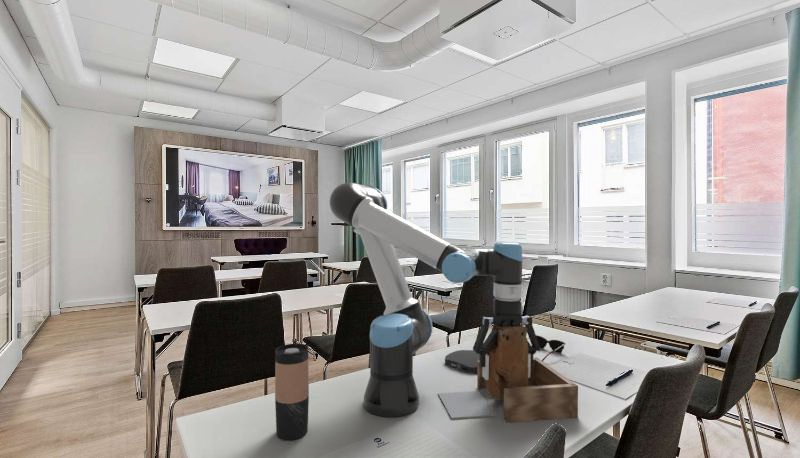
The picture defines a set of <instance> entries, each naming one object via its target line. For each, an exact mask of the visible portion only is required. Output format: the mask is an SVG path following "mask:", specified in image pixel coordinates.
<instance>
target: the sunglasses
mask: <svg viewBox="0 0 800 458" xmlns="http://www.w3.org/2000/svg"><path fill="white" fill-rule="evenodd" d="M536 337H537V340H538V343H539V346H540V349H544V348H545V347H546V346H547V344H548V345H549V347H550V348H551V351H550V352H549V353H547V354H546V355H544V356H545V357H543V358H542V359H541V360H542V361H543V362H544V360H546V358H548V357H549V356H550V355H551V354H553V353H554V352H556V353H559V354H562V353H563V350H564V349H565V345H566V342H564V341H563V340H559V339H550V340H547V339H546V338H545V337H543V336H540V335H536ZM526 338H527V340H530V339H529V337H526Z"/></svg>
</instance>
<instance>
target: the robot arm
mask: <svg viewBox="0 0 800 458" xmlns="http://www.w3.org/2000/svg"><path fill="white" fill-rule="evenodd" d="M329 207H330V210H331V213H332V214H333V215H334V217H336V218H337V219H338V220H339V221H341V222H344V223H346V224H348V225H349V226H350V227H352V231H353V233H356V234H358V235H359V236H360V238H361V241H362V244H363V247H364V249H365V251H366V254H367V258H368V260H369V262H370V266H371V269H372V273H373V274H374V277H375V279H376V282H377V283H376V284H377V285H378V288H379V291H380V293H381V296H382V299H383V302H384V305H385V309H384V312H383V315H379V316H377V317H376V318H375V319H373V320H372V322H371V324H370V330H369V359H370V360H369V369H370V371H369V373H370V374H369V375H370V376H369V379H368V383H367V385H366V388H365V392H364V395H363V407H364V409H365V410H366V411H367V412H369V413H370V414H373V415H375V416H378V417H386V418H392V417H393V418H394V417H396V418H397V417H403V416H406V415H410V414H412V413H413V412H415V411H416V410H417V409H418V408H419V406H420V395H419V392H418V388H417V385H416V381H415V378H414V375H413V373H414V372H413V371H414V369H413V368H414V367H413V366H414V364H413V363H414V362H413V361H414V354H415V353H417V352H418V351H419V350H420V349H421V348H423V347H424V346H425V345H426V344H427V343H428V341H430V340H429V339H430V338H431V336H432V334H433V328H434V327H433V321H432V318H431V316H430V315H429V313H428V312H426V311H425V310H424V309H422V306H421V304H420V301H419V300H418V299H416V298H415V297H413V295H412V294H411V290H410V288H409V285H408V282H407V280H406V276H405V274H404V272H403V270H402V266H401V264H400V261H399V259H398V257H397V256H398V255H397V252H396V250H395V247H396V248H397V249H400V250H402V251H403V252H405V253H407V254H409V255H411V256H412V257H413V258H414V257H415V259H418V260H419V261H421V262H423V263H425V264H427V265H428V266H431V267H432V268H434V269H436V270H438V271H439V272H441V273H442V275H443V276H444V277H445V279H447V280H448V281H449V282H451V283H454V284H461V283H466V282H468V281H470V280H471V279H472V278H474V277H475V276H484V277H485V276H487V277H493V291H492V292H493V293H492V294H493V295H492V296H494V298H493V300H492V301H493V305H492V306H493V308H492V312H493V314H492V316H491V317H486V316H482V317H481V326H480V328H479V330H478V333H477V335H476V339H475V342H474V344H473V347H472V350H474V351H475V352H476V353H477V354H479V355H480V356H479V364H480V366H481V367H482V376H483V377H484V378H485V380H489V356H488V355H487V352H488V351H489V349H490V348H491V346H492V345H493V343H494V342H495V340H496V339H497V337H498V330H499V329H500V327H503V326H519V325H520V324H521V325H522V323H523V324H524V327H526V329H527V336H528V338H529V339H527V341H528V378H530V368H531V364H533V358H534V355H535V354H536V353H537V352H540V351H541V348H540V346H539V343H538V340H537V337H536V332H535V329H534V325H533V318H532V317H531V316H529V315H524V316H522V309H523V308H522V302H523V301H522V299H521V298H522V296H523V295H522V293H523V292H522V291H523V290H522V288H523V286H522V285H523V283H522V282H523V247H522V245H521V244H520V243H518V242H506V241H504V242H503V241H502V242H501V241H500V242H499V241H497V242H495V243H494V244H493V245H494V246H493V248H490V249H489V248H487V249H485V248H470V247H469V248H467V247H460V248H459V247H457V246H455V245H453V244H451V243H449V242H448V241H445V240H443V239H442V238H440V237H438V236H436V235H434V234H433V233H431V232H429V231H427V230H425V229H423V228H421V227H419V226H417V225H415V224H414V223H411V222H410V221H408V220H405V219H404V218H402V217H400V216H398V215H396V214H394V213H392V212H391V211H389V210H387V209H388V201H387V198H386V196H385V194H384V192H382V191H381V190H380V189H378V188H376V187H375V186H373V185H368V184H367V185H366V184H360V183H355V182H344V183H341V184H339V185H338V186H336V187H335V188H334V189H333V190H332V192H331V194H330V197H329ZM492 323H493V325H495V326H496V327H498V326H500V327H499V328H498V330H497V331H496V330H495V329H494V327H493V326H492ZM490 326H492V328H491V331H490V333H489V334H488V331H489V329H490ZM487 334H488V336H487ZM486 336H487V337H486ZM529 341H530V342H529Z"/></svg>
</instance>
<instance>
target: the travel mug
mask: <svg viewBox="0 0 800 458" xmlns="http://www.w3.org/2000/svg"><path fill="white" fill-rule="evenodd" d="M274 353H275V356H274V359H275V360H274V361H275V364H274V365H275V366H274V369H275V370H274V371H275V374H274V375H275V377H274V378H275V379H274V381H275V382H274V386H275V389H274V390H275V391H274V397H275V399H274V400H275V401H274V402H275V403H274V404H275V427H276V436H277V438H278V439H279V440H281V441H289V442H290V441H296V440H299V439H301V438H303V437H305V435H307V433H308V431H309V429H308V428H309V404H310V403H309V399H310V398H309V397H310V394H309V393H310V389H309V387H310V386H309V385H310V384H309V347H308V345H307V344H303V343H289V344H284V345H280V346H278V347H277V348H275V350H274Z"/></svg>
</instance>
